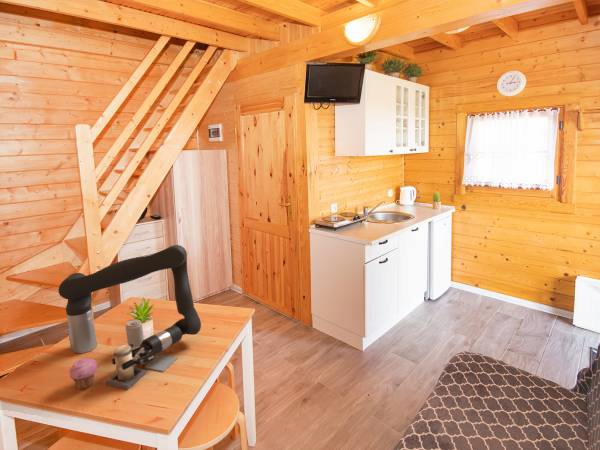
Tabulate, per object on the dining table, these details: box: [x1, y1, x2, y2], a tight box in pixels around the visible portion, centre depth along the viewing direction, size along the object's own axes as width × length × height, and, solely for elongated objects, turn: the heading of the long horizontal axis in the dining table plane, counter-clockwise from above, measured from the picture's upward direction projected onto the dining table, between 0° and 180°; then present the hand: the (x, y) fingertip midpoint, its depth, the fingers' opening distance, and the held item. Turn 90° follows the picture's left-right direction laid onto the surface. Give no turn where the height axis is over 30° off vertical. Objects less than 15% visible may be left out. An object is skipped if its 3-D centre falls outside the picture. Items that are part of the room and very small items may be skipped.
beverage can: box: [125, 319, 145, 347], centre depth 158 cm, size 6×6×12 cm
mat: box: [143, 354, 178, 373], centre depth 147 cm, size 9×9×1 cm
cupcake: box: [69, 358, 98, 390], centre depth 134 cm, size 9×9×10 cm
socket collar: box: [105, 366, 147, 390], centre depth 137 cm, size 10×10×2 cm
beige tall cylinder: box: [113, 344, 136, 383], centre depth 136 cm, size 6×6×12 cm
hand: (117, 364), depth 134 cm, fingers closed on beige tall cylinder, 5 cm apart
